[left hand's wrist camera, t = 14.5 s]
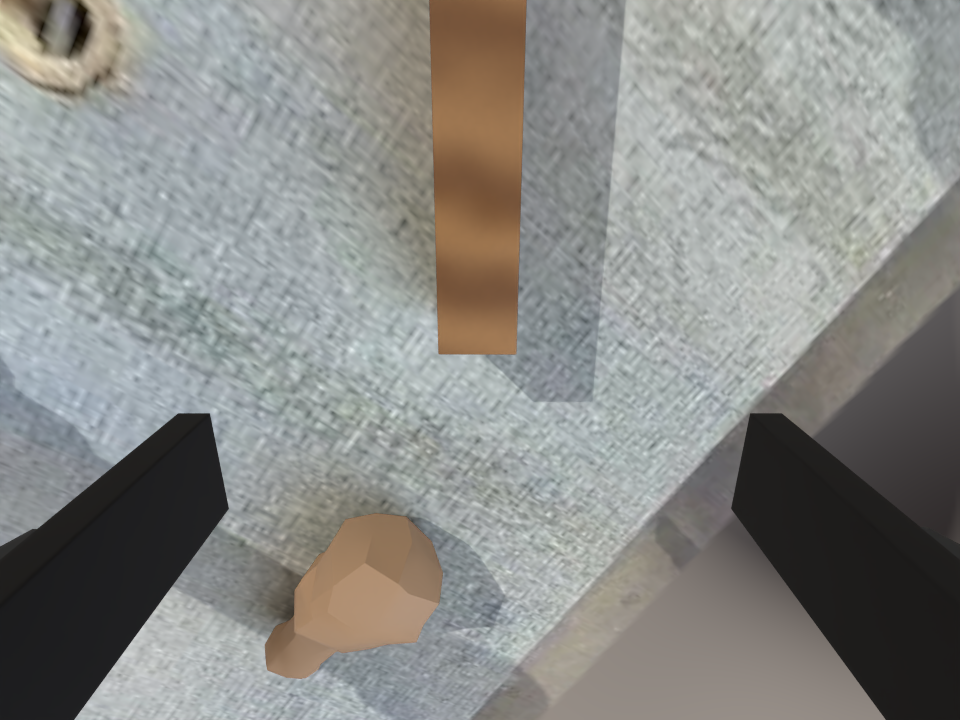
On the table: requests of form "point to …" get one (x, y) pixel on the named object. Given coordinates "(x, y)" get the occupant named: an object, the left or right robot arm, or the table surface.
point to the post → (477, 170)
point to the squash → (359, 595)
